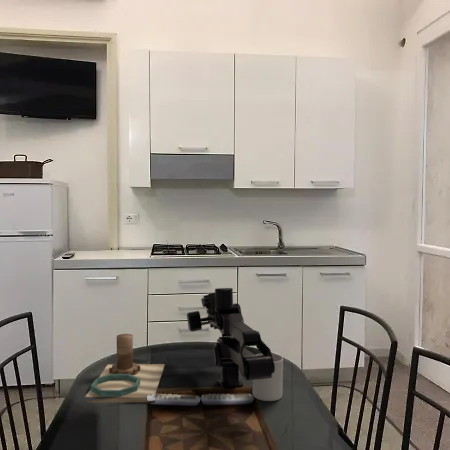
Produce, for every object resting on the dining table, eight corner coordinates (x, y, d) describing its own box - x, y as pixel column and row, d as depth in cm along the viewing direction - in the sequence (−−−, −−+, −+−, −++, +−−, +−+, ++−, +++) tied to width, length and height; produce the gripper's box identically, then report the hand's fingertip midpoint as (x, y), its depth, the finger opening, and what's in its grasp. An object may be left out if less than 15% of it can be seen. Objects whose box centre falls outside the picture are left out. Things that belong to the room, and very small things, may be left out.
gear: (141, 375, 145) (141, 338, 145) (109, 378, 143) (109, 341, 142) (138, 365, 155) (138, 331, 154) (108, 368, 152) (108, 333, 152)
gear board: (154, 402, 129) (154, 391, 129) (85, 402, 129) (85, 391, 129) (164, 368, 156) (164, 359, 156) (107, 368, 156) (107, 359, 156)
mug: (284, 401, 130) (285, 362, 129) (254, 401, 129) (255, 362, 129) (277, 385, 142) (278, 349, 141) (250, 385, 141) (250, 349, 141)
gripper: (244, 290, 155) (228, 287, 170) (190, 300, 149) (179, 296, 164) (249, 323, 155) (232, 318, 170) (195, 334, 149) (183, 328, 163)
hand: (207, 314), depth 167 cm, fingers open, 9 cm apart
